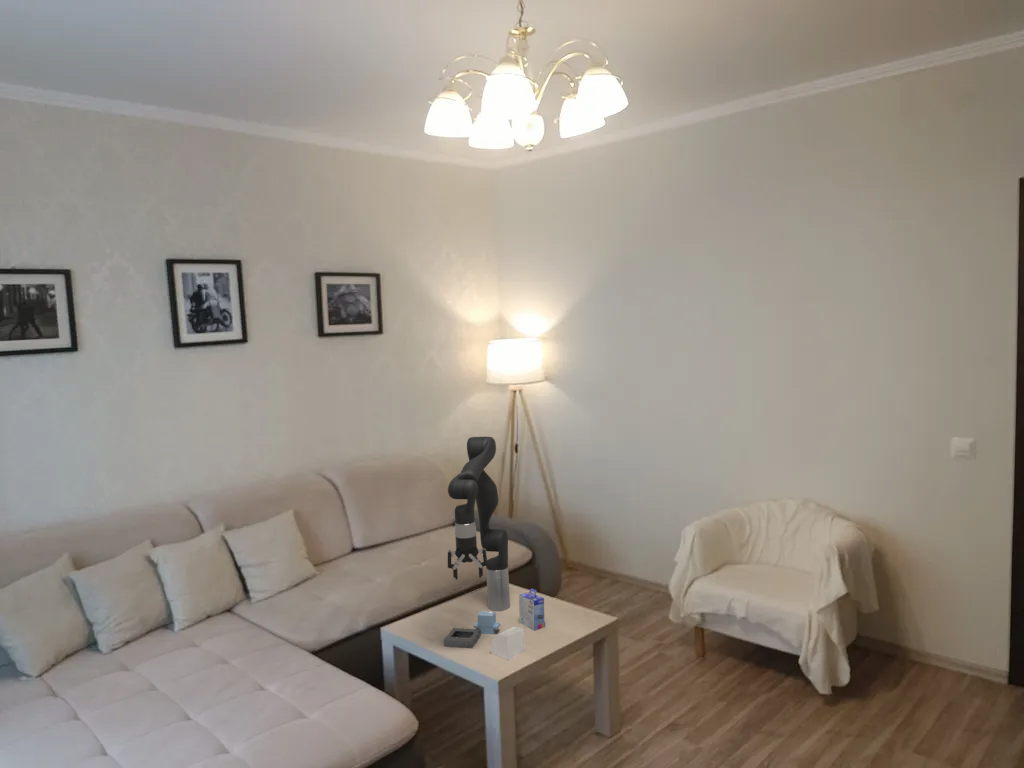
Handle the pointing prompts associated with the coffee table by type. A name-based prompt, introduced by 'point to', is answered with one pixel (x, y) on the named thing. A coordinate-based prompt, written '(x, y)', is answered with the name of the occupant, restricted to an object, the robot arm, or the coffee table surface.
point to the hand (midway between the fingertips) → (468, 578)
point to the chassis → (466, 642)
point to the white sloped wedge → (508, 643)
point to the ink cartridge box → (531, 610)
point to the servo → (487, 622)
